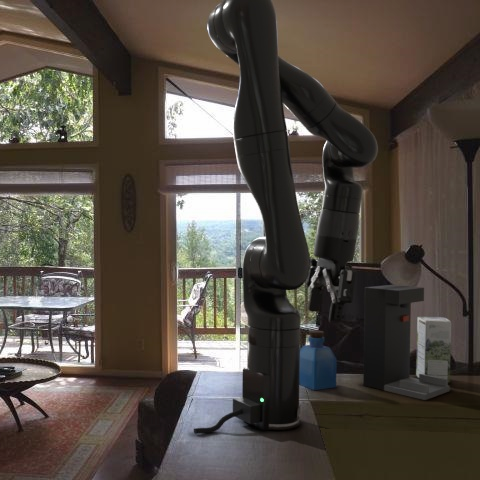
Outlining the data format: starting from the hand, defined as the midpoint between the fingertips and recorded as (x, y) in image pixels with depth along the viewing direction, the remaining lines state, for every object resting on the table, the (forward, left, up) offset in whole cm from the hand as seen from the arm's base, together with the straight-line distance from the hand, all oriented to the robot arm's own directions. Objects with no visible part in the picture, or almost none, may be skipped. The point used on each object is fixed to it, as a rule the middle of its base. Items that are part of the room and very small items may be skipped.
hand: (323, 316), depth 112 cm
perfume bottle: (+11, +13, -18) cm, 24 cm away
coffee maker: (+27, +2, -18) cm, 32 cm away
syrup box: (+39, +4, -18) cm, 43 cm away
